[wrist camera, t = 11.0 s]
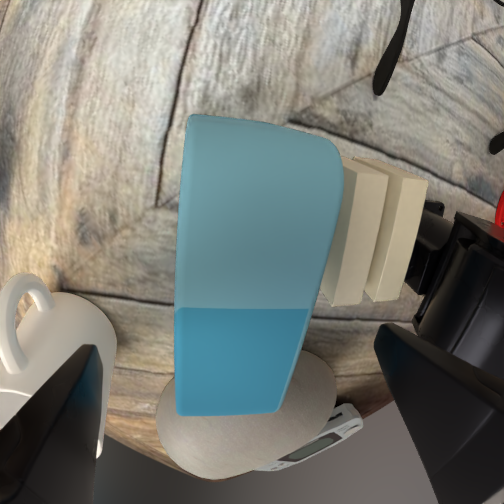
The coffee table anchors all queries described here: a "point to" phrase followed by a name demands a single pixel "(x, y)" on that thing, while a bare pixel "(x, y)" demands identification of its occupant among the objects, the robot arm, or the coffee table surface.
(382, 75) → the glasses
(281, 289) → the data package
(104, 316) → the mug
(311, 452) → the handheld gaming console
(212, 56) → the coffee table surface
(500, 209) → the ornament
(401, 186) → the cream books
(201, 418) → the white rounded slab
